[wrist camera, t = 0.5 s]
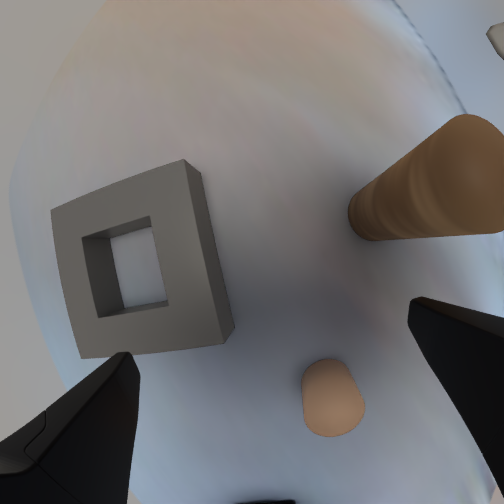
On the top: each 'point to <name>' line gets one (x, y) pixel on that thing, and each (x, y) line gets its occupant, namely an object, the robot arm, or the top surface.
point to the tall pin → (438, 187)
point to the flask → (497, 38)
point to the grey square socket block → (170, 260)
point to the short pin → (331, 398)
